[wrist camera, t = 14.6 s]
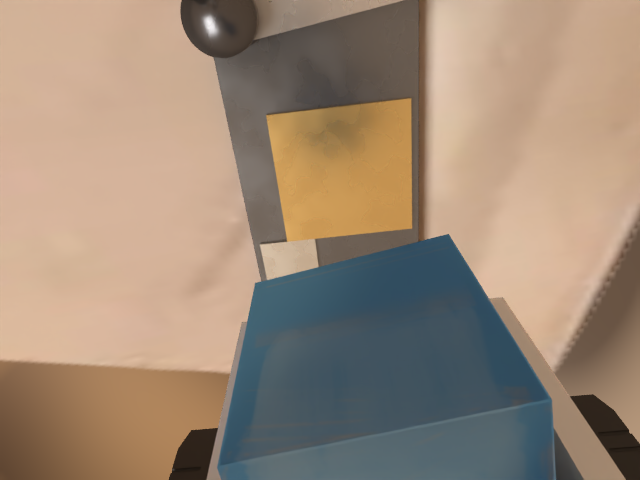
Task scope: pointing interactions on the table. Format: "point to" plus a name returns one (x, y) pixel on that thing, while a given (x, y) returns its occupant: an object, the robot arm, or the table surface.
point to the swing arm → (257, 20)
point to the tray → (328, 137)
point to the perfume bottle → (384, 377)
